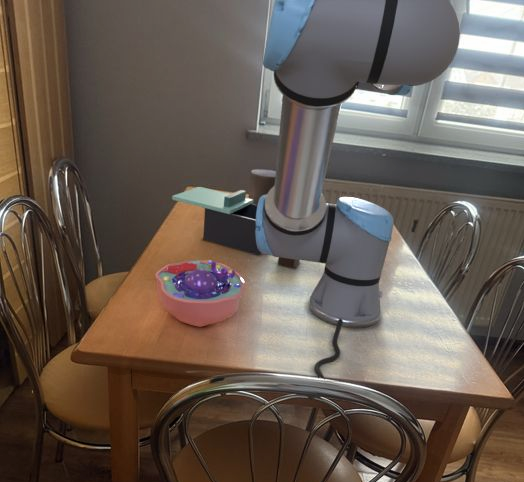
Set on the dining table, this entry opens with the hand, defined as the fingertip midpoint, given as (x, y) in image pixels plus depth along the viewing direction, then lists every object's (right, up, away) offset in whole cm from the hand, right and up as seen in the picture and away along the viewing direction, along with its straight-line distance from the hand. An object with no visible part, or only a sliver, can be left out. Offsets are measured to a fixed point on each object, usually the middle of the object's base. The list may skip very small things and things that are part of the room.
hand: (295, 216), depth 124 cm
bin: (-14, -2, +17) cm, 22 cm away
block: (-1, -10, +6) cm, 12 cm away
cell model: (-21, -26, -24) cm, 41 cm away
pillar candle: (-8, +10, +39) cm, 41 cm away
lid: (-21, +8, +15) cm, 28 cm away
